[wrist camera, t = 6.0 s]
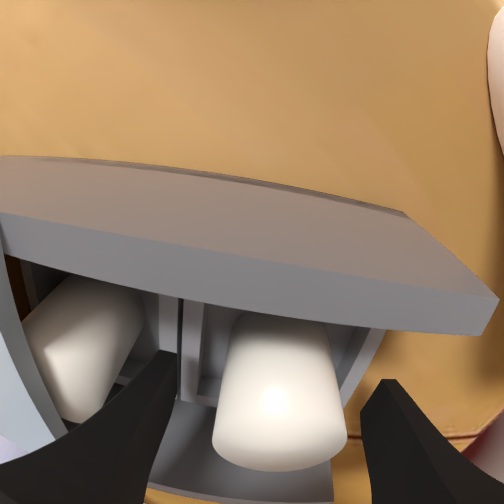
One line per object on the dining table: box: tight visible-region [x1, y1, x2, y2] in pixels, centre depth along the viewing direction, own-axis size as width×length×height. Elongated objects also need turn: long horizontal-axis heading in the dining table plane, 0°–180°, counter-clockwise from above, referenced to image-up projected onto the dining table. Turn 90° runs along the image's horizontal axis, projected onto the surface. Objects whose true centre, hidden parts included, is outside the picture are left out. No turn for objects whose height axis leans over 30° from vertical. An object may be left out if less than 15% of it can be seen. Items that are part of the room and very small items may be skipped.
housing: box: [0, 156, 500, 504], centre depth 10 cm, size 12×26×6 cm, turn 80°
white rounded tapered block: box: [21, 273, 145, 424], centre depth 10 cm, size 4×4×5 cm
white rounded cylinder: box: [212, 311, 347, 472], centre depth 10 cm, size 4×4×5 cm
